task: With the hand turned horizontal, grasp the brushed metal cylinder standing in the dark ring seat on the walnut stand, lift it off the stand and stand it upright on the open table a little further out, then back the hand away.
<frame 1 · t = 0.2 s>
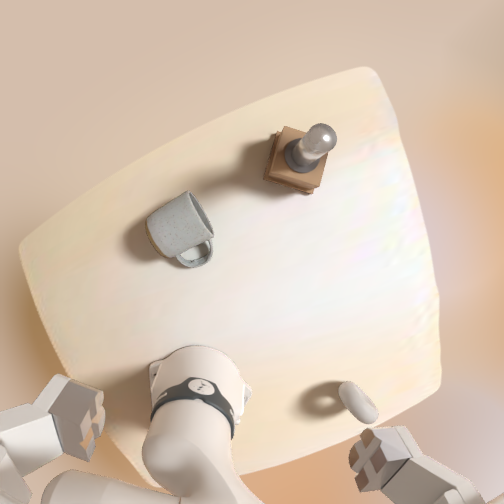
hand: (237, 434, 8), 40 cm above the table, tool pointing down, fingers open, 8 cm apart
ceramic mug: (189, 231, 47), on the table
walnut stand: (294, 163, 46), on the table
brushed metal cylinder: (302, 155, 40), point 6 cm above the table, touching walnut stand
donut: (349, 388, 52), on the table
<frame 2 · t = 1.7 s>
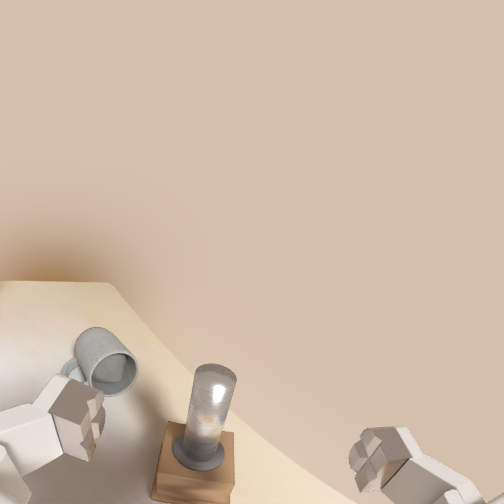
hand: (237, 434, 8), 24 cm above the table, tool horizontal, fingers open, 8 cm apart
ceramic mug: (97, 382, 36), on the table
walnut stand: (192, 479, 25), on the table
brushed metal cylinder: (199, 449, 24), point 6 cm above the table, touching walnut stand
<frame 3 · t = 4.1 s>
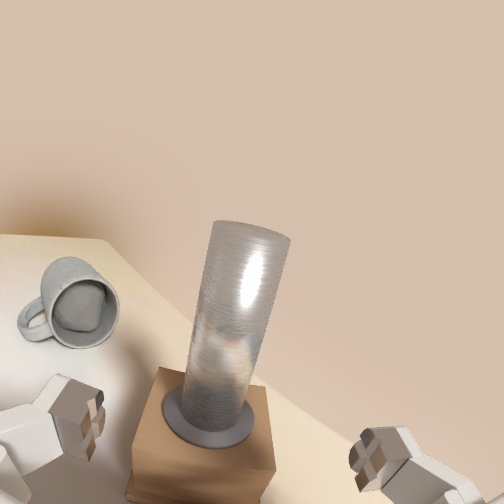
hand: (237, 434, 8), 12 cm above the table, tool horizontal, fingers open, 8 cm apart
ceramic mug: (65, 332, 26), on the table
walnut stand: (196, 468, 16), on the table
brushed metal cylinder: (209, 410, 14), point 6 cm above the table, touching walnut stand
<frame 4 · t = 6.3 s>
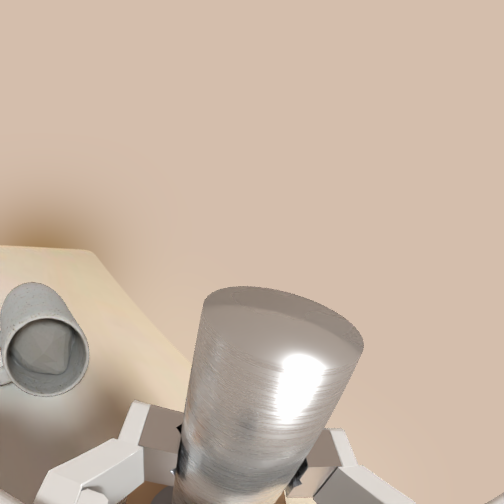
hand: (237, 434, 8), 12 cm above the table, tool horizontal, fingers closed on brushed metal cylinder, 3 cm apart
ceramic mug: (31, 373, 19), on the table
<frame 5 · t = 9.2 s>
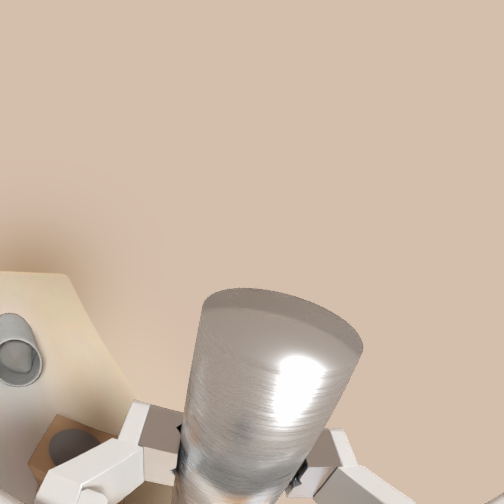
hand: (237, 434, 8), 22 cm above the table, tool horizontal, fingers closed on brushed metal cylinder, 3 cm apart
ceramic mug: (10, 371, 28), on the table
walnut stand: (86, 483, 18), on the table
when the fingers open (7 cm above the table, at t = 12.1 s): brushed metal cylinder drops 1 cm, on the table.
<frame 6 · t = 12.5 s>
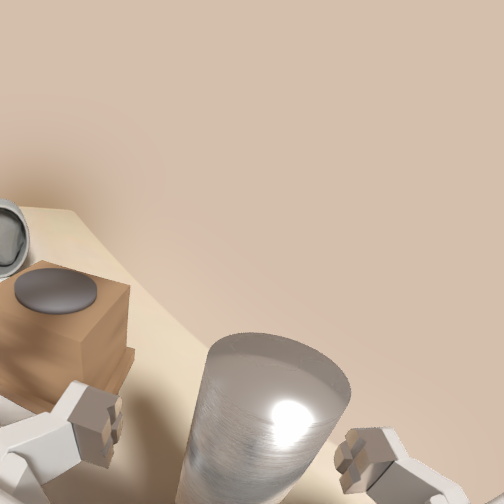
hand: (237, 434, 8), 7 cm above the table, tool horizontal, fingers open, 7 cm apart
walnut stand: (62, 375, 15), on the table
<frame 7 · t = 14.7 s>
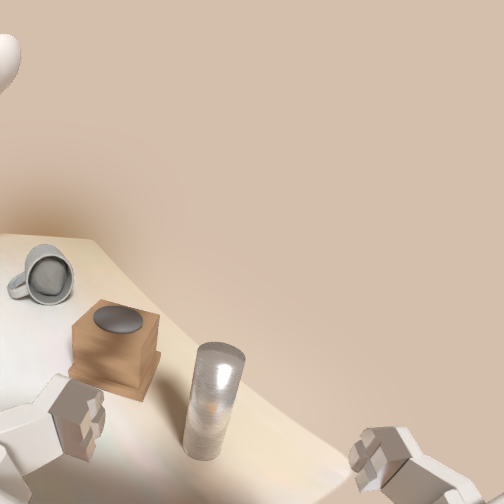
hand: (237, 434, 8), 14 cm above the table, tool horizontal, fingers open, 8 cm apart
ceramic mug: (39, 296, 36), on the table
walnut stand: (117, 368, 28), on the table
brushed metal cylinder: (201, 446, 21), on the table
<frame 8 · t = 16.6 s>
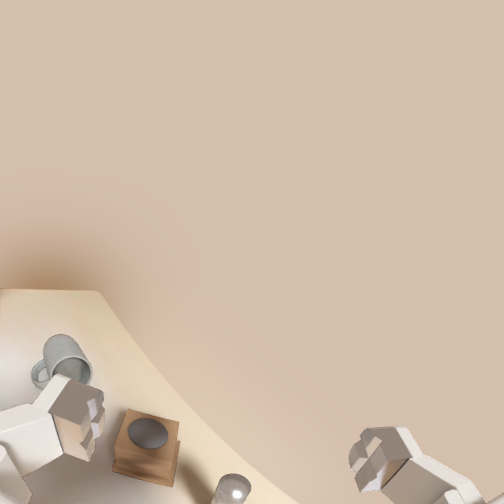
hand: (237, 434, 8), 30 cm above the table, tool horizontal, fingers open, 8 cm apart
ceramic mug: (61, 381, 39), on the table
walnut stand: (147, 458, 31), on the table
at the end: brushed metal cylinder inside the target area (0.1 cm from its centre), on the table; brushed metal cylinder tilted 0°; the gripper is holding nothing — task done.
